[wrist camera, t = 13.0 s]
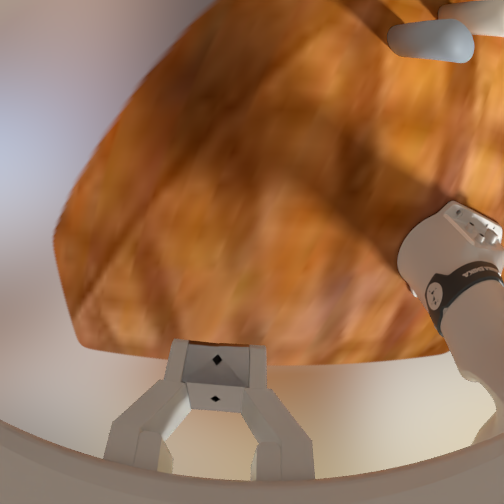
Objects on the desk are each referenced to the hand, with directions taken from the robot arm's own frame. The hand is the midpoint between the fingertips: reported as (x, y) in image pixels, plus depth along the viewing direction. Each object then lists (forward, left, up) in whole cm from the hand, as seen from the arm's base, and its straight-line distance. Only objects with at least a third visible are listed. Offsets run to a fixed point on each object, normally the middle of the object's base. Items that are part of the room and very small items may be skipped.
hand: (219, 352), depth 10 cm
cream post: (-25, -21, -31) cm, 45 cm away
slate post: (-18, -15, -31) cm, 39 cm away
